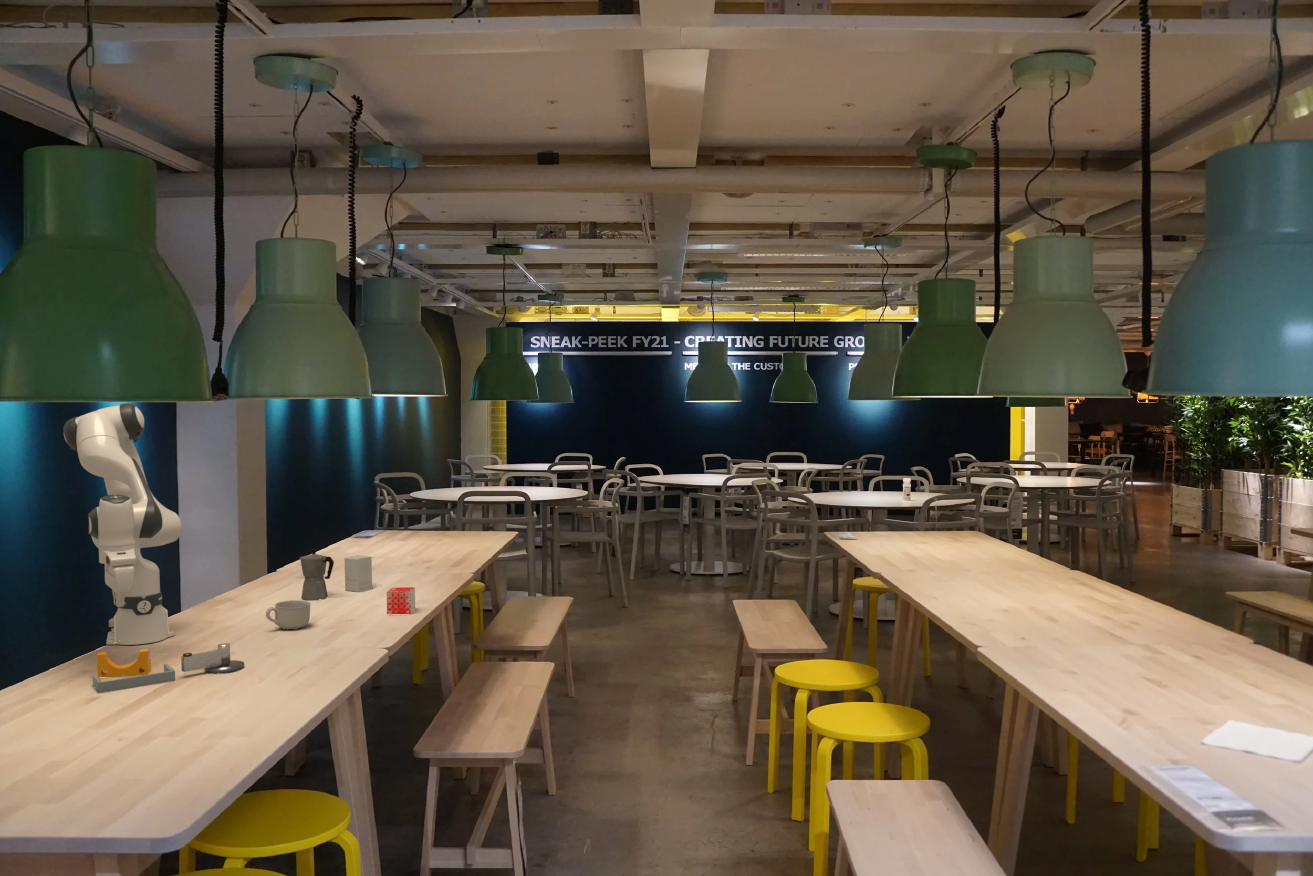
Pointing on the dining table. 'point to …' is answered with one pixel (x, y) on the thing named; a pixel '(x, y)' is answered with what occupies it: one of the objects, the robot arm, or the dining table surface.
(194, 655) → the crank
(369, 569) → the supplement box
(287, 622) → the teacup
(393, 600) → the puzzle cube
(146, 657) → the pipe clamp
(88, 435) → the robot arm
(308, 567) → the coffeepot
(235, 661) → the crank base
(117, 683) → the bay
